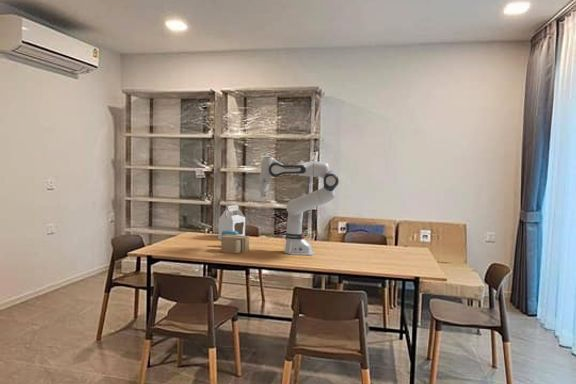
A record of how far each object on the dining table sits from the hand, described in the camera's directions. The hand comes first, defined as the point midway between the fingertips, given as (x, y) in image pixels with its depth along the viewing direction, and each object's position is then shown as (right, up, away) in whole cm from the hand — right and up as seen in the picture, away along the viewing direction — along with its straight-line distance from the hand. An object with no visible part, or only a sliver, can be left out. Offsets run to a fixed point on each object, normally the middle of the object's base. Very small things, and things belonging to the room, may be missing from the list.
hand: (262, 197), depth 318 cm
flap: (-16, -38, -11) cm, 43 cm away
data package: (-26, -38, +11) cm, 47 cm away
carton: (-20, -39, -5) cm, 44 cm away
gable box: (-29, -36, +47) cm, 66 cm away
